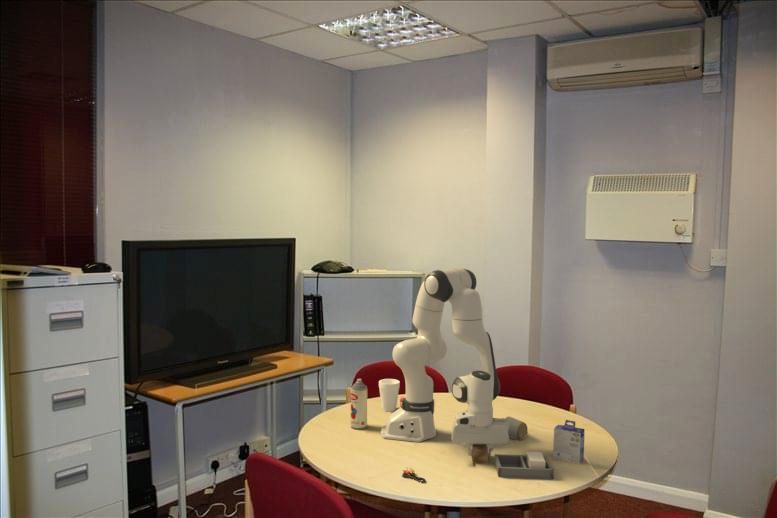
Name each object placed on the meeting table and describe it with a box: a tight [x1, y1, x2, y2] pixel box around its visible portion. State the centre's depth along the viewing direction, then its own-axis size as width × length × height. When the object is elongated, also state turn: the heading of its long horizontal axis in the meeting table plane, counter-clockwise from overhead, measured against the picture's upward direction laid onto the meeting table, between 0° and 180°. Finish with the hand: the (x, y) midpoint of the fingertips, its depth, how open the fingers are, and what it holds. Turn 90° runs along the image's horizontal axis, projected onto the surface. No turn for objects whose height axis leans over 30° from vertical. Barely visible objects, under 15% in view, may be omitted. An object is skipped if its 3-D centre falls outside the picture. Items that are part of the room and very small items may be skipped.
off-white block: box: [525, 451, 546, 468], centre depth 206 cm, size 5×8×5 cm, turn 176°
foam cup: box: [378, 378, 401, 413], centre depth 274 cm, size 10×9×13 cm
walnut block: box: [471, 444, 489, 467], centre depth 216 cm, size 5×8×6 cm, turn 176°
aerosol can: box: [350, 378, 368, 431], centre depth 250 cm, size 7×7×20 cm
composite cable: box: [401, 467, 427, 484], centre depth 201 cm, size 10×5×2 cm, turn 34°
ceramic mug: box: [505, 416, 529, 441], centre depth 241 cm, size 11×8×8 cm
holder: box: [493, 453, 555, 480], centre depth 206 cm, size 18×12×4 cm, turn 86°
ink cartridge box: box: [552, 419, 585, 465], centre depth 216 cm, size 10×6×14 cm, turn 58°
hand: (479, 455), depth 216 cm, fingers closed on walnut block, 5 cm apart
